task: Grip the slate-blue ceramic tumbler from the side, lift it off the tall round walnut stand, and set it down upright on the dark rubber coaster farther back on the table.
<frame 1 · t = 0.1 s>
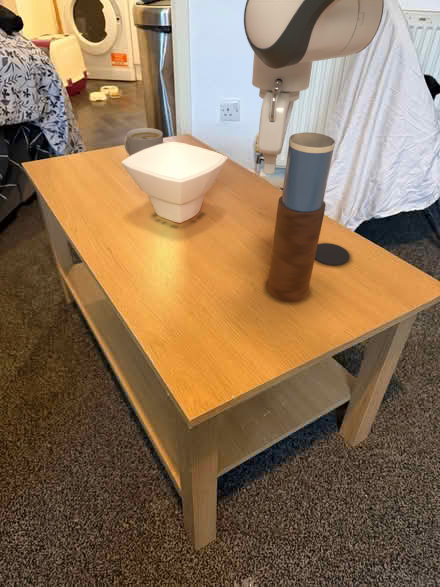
hand: (272, 161, 71), 21 cm above the table, tool pointing down, fingers open, 8 cm apart
tumbler: (301, 202, 66), point 18 cm above the table, touching stand
stand: (287, 289, 78), on the table
coaster: (329, 254, 87), on the table
bowl: (178, 216, 99), on the table
coffee mug: (144, 166, 122), on the table
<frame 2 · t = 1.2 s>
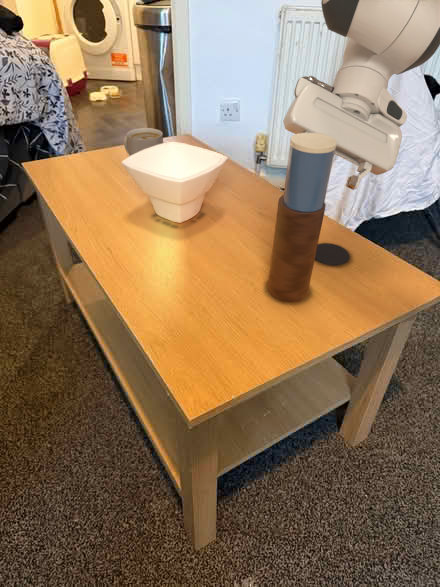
hand: (327, 176, 68), 21 cm above the table, tool tilted 45°, fingers open, 8 cm apart
nothing on the table moved.
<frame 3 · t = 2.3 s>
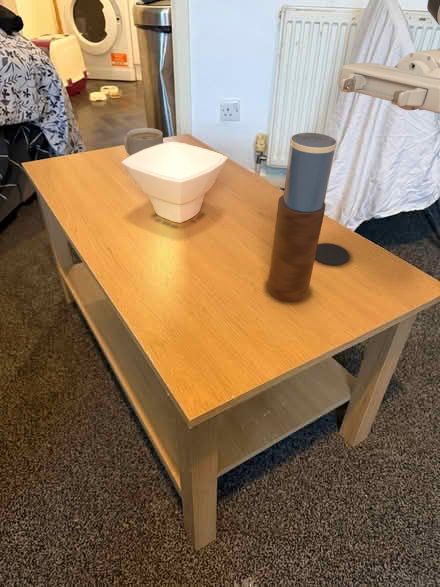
hand: (369, 92, 63), 33 cm above the table, tool horizontal, fingers open, 8 cm apart
nothing on the table moved.
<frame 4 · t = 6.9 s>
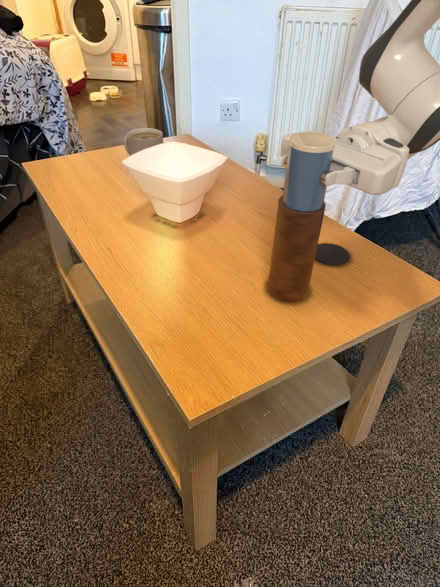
hand: (303, 170, 62), 23 cm above the table, tool horizontal, fingers closed on tumbler, 6 cm apart
tumbler: (302, 202, 66), point 18 cm above the table, touching gripper, stand
everything else where it was.
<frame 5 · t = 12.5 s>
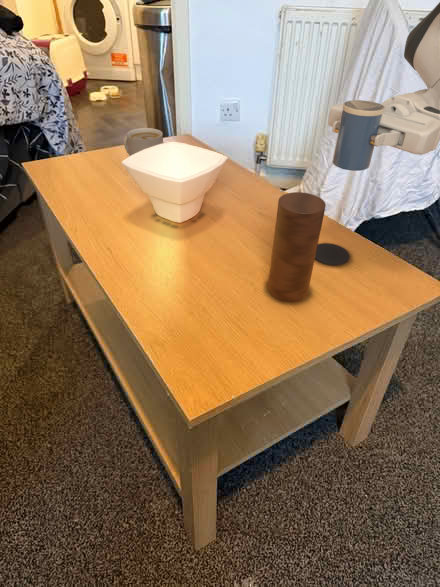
hand: (354, 134, 71), 25 cm above the table, tool horizontal, fingers closed on tumbler, 6 cm apart
tumbler: (350, 163, 75), point 20 cm above the table, touching gripper
everything else where it was.
when the fingers open (6 cm above the table, at t = 18.2 s): tumbler stays where it is, resting on coaster.
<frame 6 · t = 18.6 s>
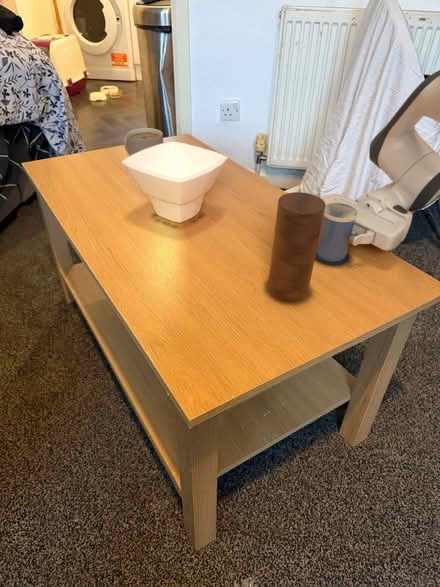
hand: (332, 231, 83), 6 cm above the table, tool horizontal, fingers open, 8 cm apart
tumbler: (330, 252, 87), resting on coaster
everything else where it was.
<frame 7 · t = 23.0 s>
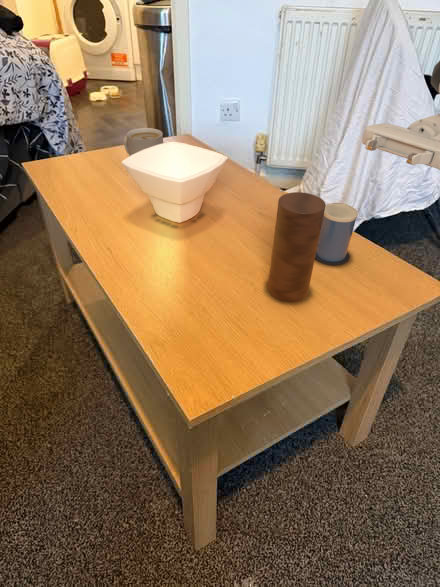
hand: (388, 152, 81), 19 cm above the table, tool horizontal, fingers open, 8 cm apart
nothing on the table moved.
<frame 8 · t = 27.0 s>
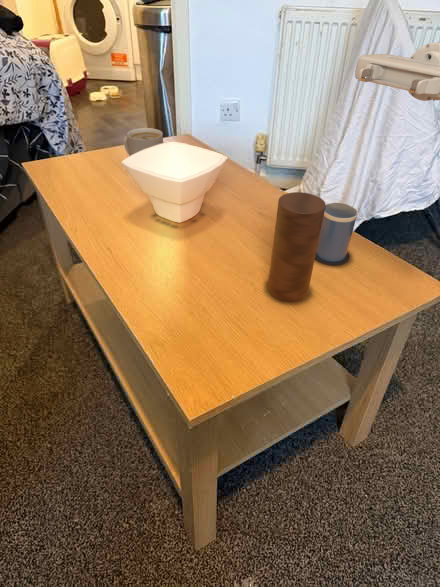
hand: (387, 81, 64), 34 cm above the table, tool horizontal, fingers open, 8 cm apart
nothing on the table moved.
at the end: tumbler 0.1 cm off-centre on the coaster, point 0.4 cm above the coaster's base; tumbler tilted 0°; tumbler touching coaster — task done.
